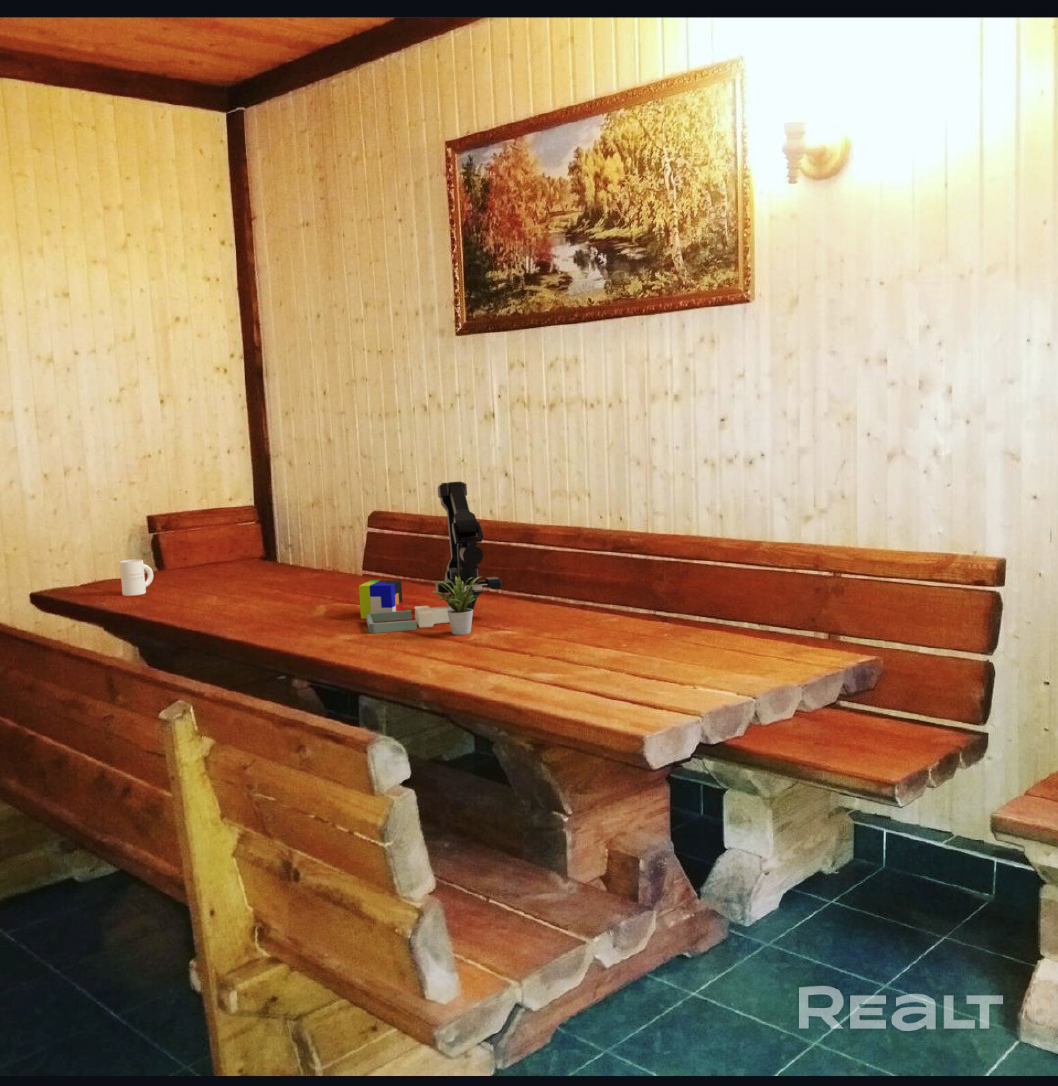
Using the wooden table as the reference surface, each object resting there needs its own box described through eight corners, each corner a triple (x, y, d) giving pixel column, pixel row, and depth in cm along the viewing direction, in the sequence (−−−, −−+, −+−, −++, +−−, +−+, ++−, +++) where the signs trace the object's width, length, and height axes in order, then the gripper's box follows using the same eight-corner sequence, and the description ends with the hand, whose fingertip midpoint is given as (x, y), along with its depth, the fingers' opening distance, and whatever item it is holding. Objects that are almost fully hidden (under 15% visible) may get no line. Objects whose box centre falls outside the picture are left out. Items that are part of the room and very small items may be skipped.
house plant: (466, 624, 317) (463, 568, 315) (499, 630, 307) (496, 571, 305) (427, 633, 307) (424, 574, 305) (460, 639, 297) (457, 579, 295)
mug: (160, 591, 404) (157, 558, 402) (130, 596, 395) (127, 563, 393) (148, 589, 409) (145, 557, 408) (118, 594, 400) (115, 561, 399)
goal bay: (411, 618, 330) (410, 610, 330) (417, 629, 313) (416, 620, 313) (366, 622, 328) (366, 613, 327) (369, 633, 311) (369, 624, 310)
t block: (449, 617, 329) (448, 603, 329) (454, 624, 318) (453, 610, 317) (415, 620, 328) (414, 606, 327) (419, 627, 316) (418, 614, 315)
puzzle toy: (392, 618, 332) (390, 585, 330) (360, 618, 334) (358, 585, 333) (403, 612, 341) (401, 580, 340) (372, 612, 343) (370, 580, 342)
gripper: (493, 555, 332) (496, 606, 334) (431, 560, 328) (434, 612, 330) (501, 560, 322) (503, 613, 323) (437, 565, 318) (440, 618, 319)
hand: (470, 614), depth 324 cm, fingers closed
